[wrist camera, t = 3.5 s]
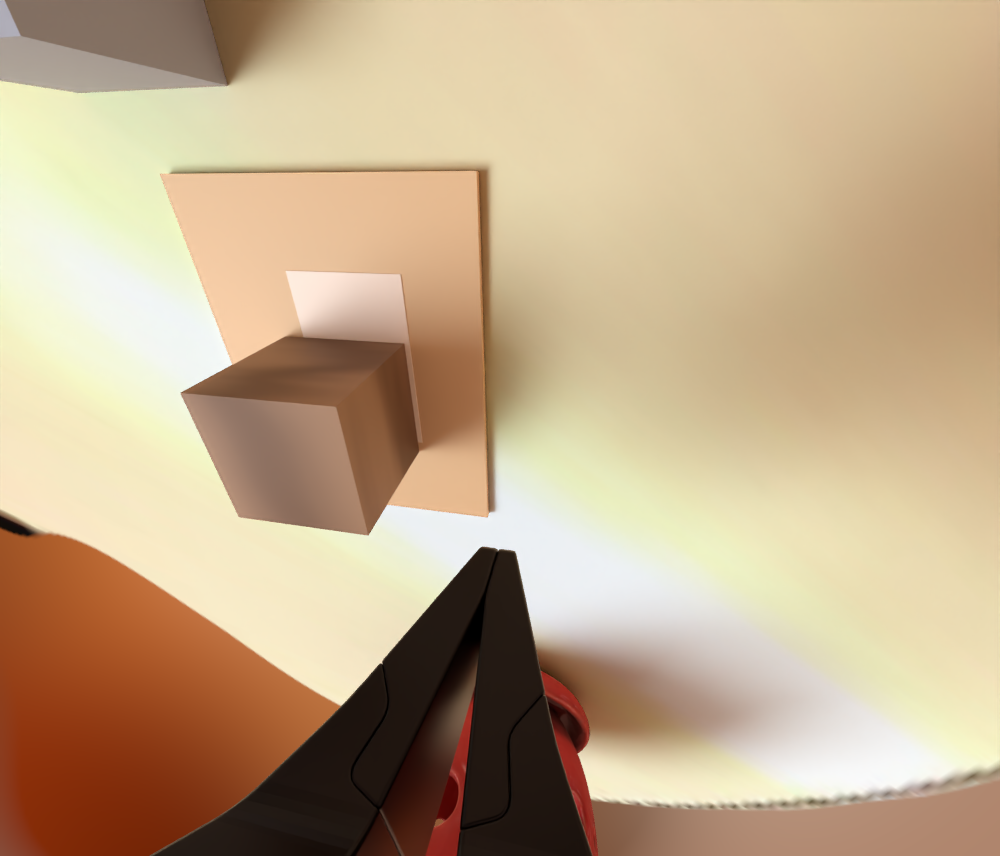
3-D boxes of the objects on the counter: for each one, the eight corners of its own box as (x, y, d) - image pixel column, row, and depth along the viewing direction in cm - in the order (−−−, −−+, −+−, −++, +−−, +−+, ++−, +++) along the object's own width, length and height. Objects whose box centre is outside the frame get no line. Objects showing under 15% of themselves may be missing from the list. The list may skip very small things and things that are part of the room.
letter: (478, 170, 12) (476, 170, 12) (488, 513, 20) (487, 518, 19) (167, 173, 14) (158, 174, 14) (284, 487, 21) (279, 491, 21)
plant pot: (406, 617, 26) (292, 896, 16) (616, 663, 24) (634, 1003, 14) (416, 713, 33) (341, 947, 23) (579, 752, 31) (575, 1023, 21)
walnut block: (404, 343, 15) (336, 406, 11) (419, 451, 18) (368, 535, 14) (285, 336, 16) (180, 393, 12) (316, 440, 19) (238, 517, 15)
